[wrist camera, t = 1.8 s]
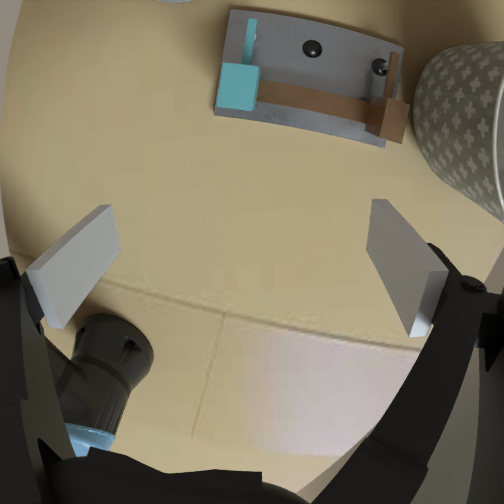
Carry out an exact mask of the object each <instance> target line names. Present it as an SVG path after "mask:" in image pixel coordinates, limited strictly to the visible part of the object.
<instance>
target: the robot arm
mask: <svg viewBox="0 0 504 504" xmlns="http://www.w3.org/2000/svg"><path fill="white" fill-rule="evenodd" d="M366 250H367V252H368V254H369V256H370V258H371V260H372V262H373V264H374V266H375V267H376V269H377V271H378V273H379V275H380V277H381V279H382V281H383V283H384V285H385V287H386V289H387V291H388V293H389V296H390V298H391V300H392V302H393V304H394V306H395V308H396V310H397V312H398V315H399V317H400V319H401V321H402V323H403V325H404V328H405V330H406V332H407V334H408V337H409V338H410V337H420V336H427V334H428V332H429V329H430V326H431V324H433V325H434V327H433V329H432V331H431V333H430V335H429V337H428V339H427V341H426V343H425V345H424V347H423V349H422V351H421V352H420V354H419V356H418V358H417V360H416V362H415V364H414V365H413V367H412V369H411V371H410V373H409V374H408V376H407V378H406V380H405V381H404V383H403V385H402V386H401V388H400V390H399V391H398V393H397V395H396V396H395V398H394V399H393V401H392V403H391V404H390V406H389V407H388V409H387V410H386V412H385V414H384V415H383V417H382V418H381V420H380V421H379V422H378V424H377V425H376V427H375V428H374V430H373V431H372V433H371V434H370V435H369V436H368V437H367V438H365V439H364V441H363V442H362V443H361V444H360V446H359V447H358V448H357V449H356V451H355V452H354V453H353V455H352V456H351V457H350V459H349V460H348V461H347V462H346V464H345V465H344V466H343V467H342V469H341V470H340V471H339V472H338V474H337V475H336V476H335V477H334V478H333V479H332V480H331V482H330V483H329V484H328V485H327V486H326V487H325V489H324V490H323V491H322V492H321V493H320V494H319V495H318V496H317V497H316V499H315V500H314V501H313V502H312V503H311V504H410V503H411V501H412V500H413V498H414V496H415V494H416V493H417V491H418V490H419V488H420V486H421V484H422V483H423V480H424V479H425V476H426V474H427V472H428V467H427V463H428V461H429V459H430V457H431V455H432V453H433V451H434V449H435V447H436V445H437V443H438V441H439V438H440V436H441V434H442V432H443V430H444V427H445V425H446V423H447V420H448V418H449V416H450V414H451V411H452V409H453V406H454V404H455V401H456V399H457V396H458V393H459V390H460V388H461V385H462V382H463V380H464V376H465V374H466V371H467V368H468V364H469V361H470V358H471V355H472V351H473V348H474V347H475V348H479V370H480V371H479V372H480V390H479V416H478V430H477V442H476V451H475V459H474V465H473V472H472V478H471V483H470V489H469V494H468V499H467V503H466V504H504V288H503V291H502V293H501V295H500V294H494V293H488V292H487V289H486V287H485V285H484V284H483V283H482V282H481V281H479V280H478V279H476V278H474V277H471V276H467V275H461V273H460V272H459V271H458V270H457V268H456V267H455V266H454V265H453V264H452V263H451V262H450V260H449V259H448V258H447V257H445V254H444V253H443V252H442V251H441V250H440V249H439V248H438V247H436V246H435V245H433V244H431V243H426V242H425V241H424V240H423V239H422V238H421V236H420V235H419V234H418V233H417V232H416V231H415V230H414V228H413V227H412V226H411V225H410V224H409V223H408V222H407V221H406V220H405V219H404V217H403V216H402V215H401V214H400V213H399V212H398V211H397V210H396V209H395V208H394V207H393V206H392V205H391V204H390V202H389V201H388V200H387V199H372V206H371V215H370V223H369V231H368V239H367V246H366ZM121 251H122V249H121V245H120V240H119V236H118V232H117V227H116V222H115V217H114V213H113V208H112V204H108V205H99V206H98V207H97V208H96V209H94V210H93V211H92V212H91V213H89V214H88V215H87V216H86V217H84V218H83V219H82V220H81V221H80V222H78V223H77V224H76V225H75V226H74V227H72V228H71V229H70V230H69V231H68V232H66V233H65V234H64V235H63V236H62V237H61V238H60V239H58V240H57V241H56V242H55V243H54V244H53V245H52V246H50V247H49V248H48V249H47V250H46V251H45V252H44V253H43V254H42V255H41V256H39V257H38V258H37V259H36V260H35V261H34V262H33V263H32V264H31V265H30V266H29V267H28V268H27V269H26V271H25V272H24V273H23V274H22V275H21V276H20V274H19V271H18V269H17V266H16V263H15V261H14V258H13V257H5V258H2V259H0V504H309V503H308V502H307V501H306V500H304V499H303V498H301V497H300V496H298V495H296V494H295V493H293V492H291V491H289V490H287V489H285V488H282V487H279V486H276V485H274V484H270V483H266V482H262V472H251V471H231V470H218V469H213V470H205V471H195V472H184V473H170V474H169V473H163V472H161V471H158V470H156V469H154V468H152V467H149V466H147V465H145V464H143V463H141V462H139V461H137V460H135V459H133V458H130V457H128V456H126V455H123V454H118V453H114V452H110V451H109V449H110V447H111V445H112V443H113V441H114V440H115V438H116V437H115V435H116V432H117V429H118V426H119V423H120V420H121V418H122V415H123V412H124V409H125V406H126V404H127V401H128V398H129V395H130V393H131V391H132V390H133V389H134V388H135V387H136V386H137V385H138V383H139V382H140V381H141V380H142V379H143V378H144V377H145V376H146V375H147V374H148V372H149V370H150V368H151V365H152V363H153V359H154V354H153V350H152V347H151V345H150V343H149V342H148V340H147V339H146V337H145V336H144V335H143V334H142V333H141V332H140V331H139V330H138V329H136V328H135V327H134V326H132V325H131V324H129V323H128V322H126V321H124V320H122V319H120V318H118V317H115V316H111V315H107V314H94V315H90V316H88V317H87V318H85V319H84V320H83V322H82V323H81V325H80V326H79V328H78V330H77V332H76V336H75V342H74V347H73V353H72V358H71V360H69V359H68V358H67V357H66V356H65V355H64V354H63V353H62V352H61V351H60V350H59V349H58V348H57V347H56V346H55V345H54V344H53V343H52V342H51V341H50V340H49V339H48V338H47V337H46V336H45V335H44V329H43V326H42V324H41V322H40V320H41V319H42V318H43V317H44V316H45V318H46V320H47V322H48V324H49V326H50V327H53V328H59V329H63V328H64V327H65V326H66V324H67V323H68V321H69V320H70V318H71V317H72V316H73V314H74V313H75V311H76V310H77V309H78V307H79V306H80V305H81V303H82V302H83V300H84V299H85V298H86V296H87V295H88V294H89V292H90V291H91V290H92V288H93V287H94V286H95V284H96V283H97V282H98V281H99V279H100V278H101V277H102V275H103V274H104V273H105V271H106V270H107V269H108V268H109V266H110V265H111V264H112V263H113V261H114V260H115V259H116V258H117V256H118V255H119V254H120V253H121Z"/></svg>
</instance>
